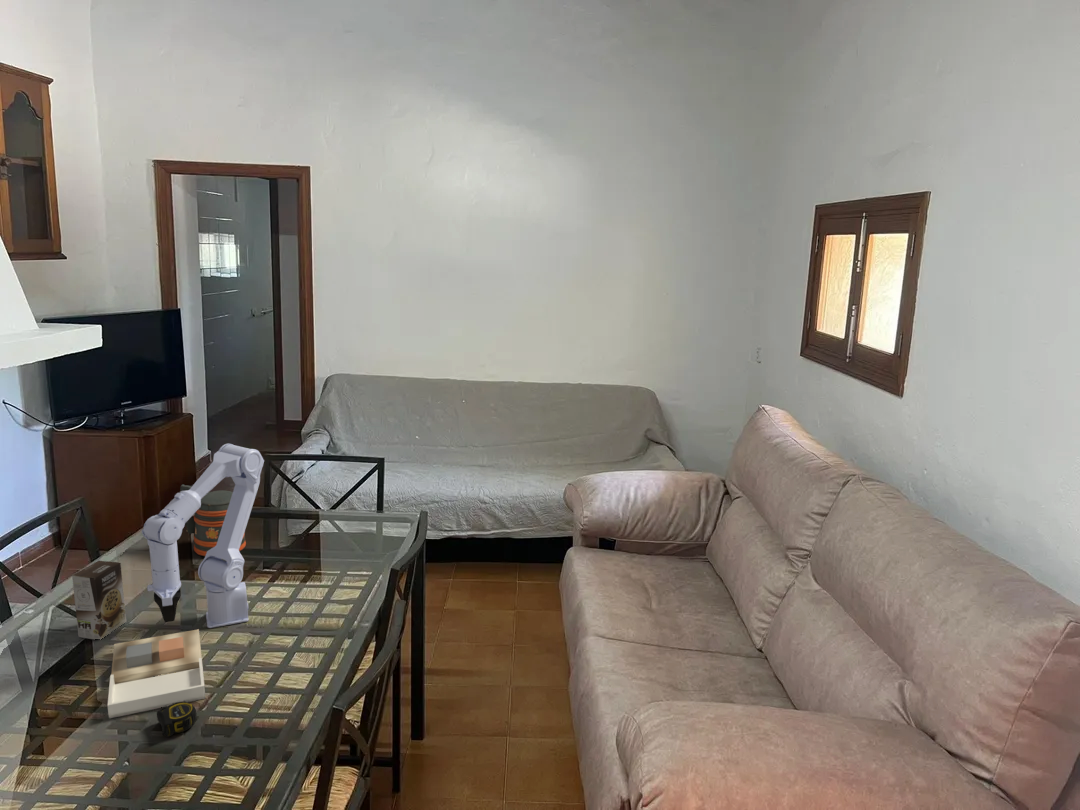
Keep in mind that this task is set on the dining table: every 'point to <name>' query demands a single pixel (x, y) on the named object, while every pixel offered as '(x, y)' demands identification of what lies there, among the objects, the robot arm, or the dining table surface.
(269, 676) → the dining table surface
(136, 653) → the tile slate
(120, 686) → the box
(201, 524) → the beer stein
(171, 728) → the tape measure
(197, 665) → the deck
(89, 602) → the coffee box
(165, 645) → the tile terracotta
